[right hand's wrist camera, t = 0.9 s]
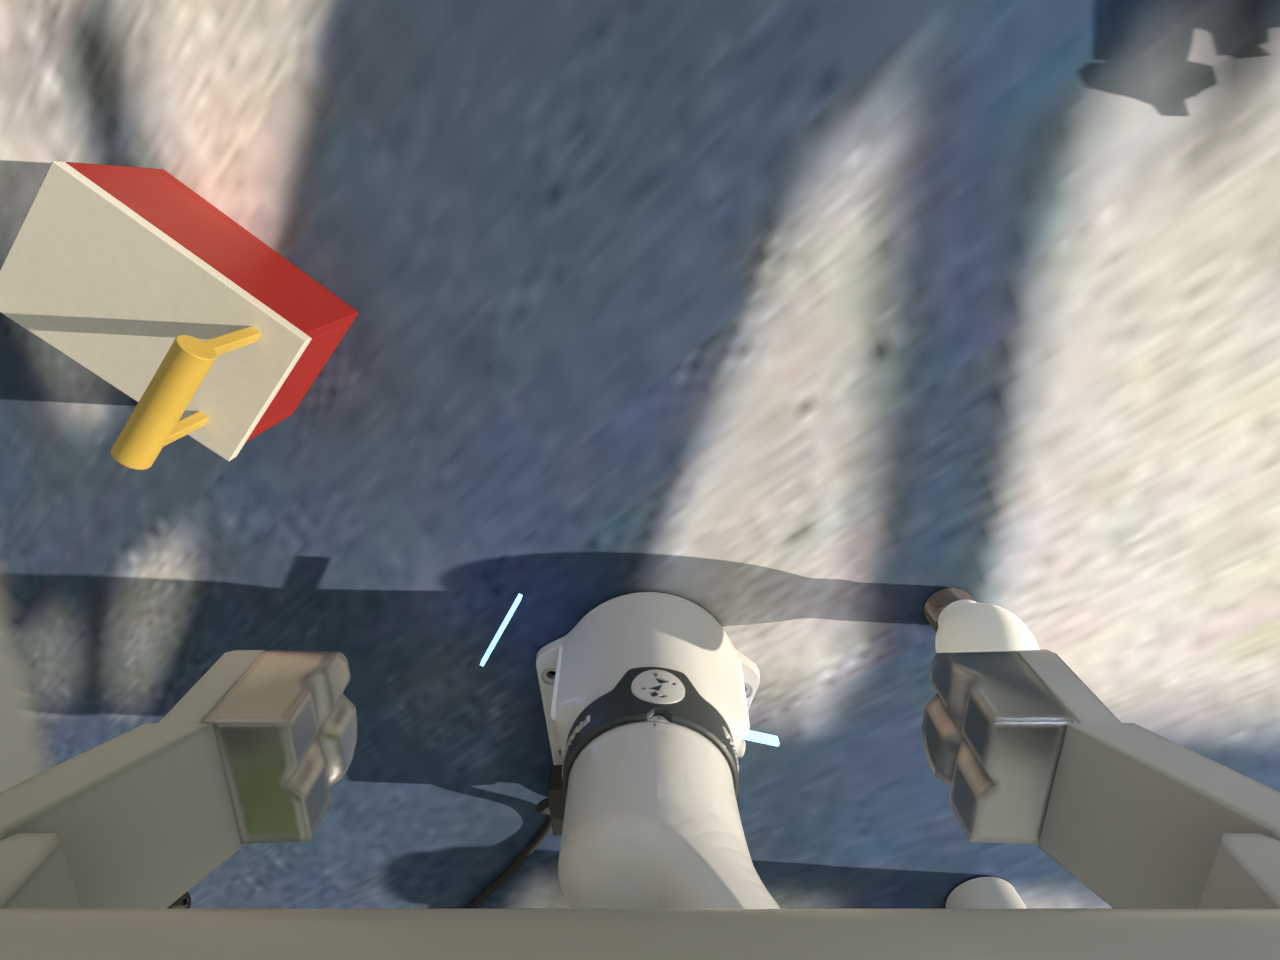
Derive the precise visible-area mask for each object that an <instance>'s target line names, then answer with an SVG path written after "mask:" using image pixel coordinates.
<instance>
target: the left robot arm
mask: <svg viewBox="0 0 1280 960" xmlns="http://www.w3.org/2000/svg"><path fill="white" fill-rule="evenodd" d="M190 906H191V898H190V896H189V893H188V892H186V893H185V894H184V895H183V896H181V897H180V898H179V899H178V900H176V901H175V902H174V903H173V904H171V905H170V906H169V907H168V908H167V909H189V908H190Z"/></svg>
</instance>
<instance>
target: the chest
mask: <svg viewBox="0 0 1280 960" xmlns="http://www.w3.org/2000/svg"><path fill="white" fill-rule="evenodd" d="M66 163H67V164H68V165H70V166H71V167H72V168H74V169H75V170H77V171H78V172H79V173H81V174H82V175H84V176H85V177H86V178H88V179H89V180H91V181H92V182H93V183H95V184H96V185H98V186H99V187H100V188H102V189H103V190H105V191H106V192H107V193H109V194H110V195H112V196H113V197H114V198H116V199H117V200H119V201H120V202H121V203H123V204H124V205H126V206H127V207H128V208H130V209H131V210H133V211H134V212H135V213H137V214H138V215H140V216H141V217H142V218H144V219H145V220H147V221H148V222H149V223H151V224H152V225H154V226H155V227H156V228H158V229H159V230H161V231H162V232H163V233H165V234H166V235H168V236H169V237H171V238H172V239H173V240H175V241H176V242H178V243H179V244H180V245H182V246H183V247H185V248H186V249H187V250H189V251H190V252H192V253H193V254H194V255H196V256H197V257H199V258H200V259H201V260H203V261H204V262H206V263H207V264H208V265H210V266H211V267H213V268H214V269H215V270H217V271H218V272H220V273H221V274H222V275H224V276H225V277H227V278H228V279H229V280H231V281H232V282H234V283H235V284H236V285H238V286H239V287H241V288H242V289H243V290H245V291H246V292H248V293H249V294H250V295H252V296H253V297H255V298H256V299H257V300H259V301H260V302H262V303H263V304H264V305H266V306H267V307H269V308H270V309H271V310H273V311H274V312H276V313H277V314H278V315H280V316H281V317H283V318H284V319H285V320H287V321H288V322H290V323H291V324H292V325H294V326H295V327H297V328H298V329H299V330H301V331H302V332H304V333H305V334H306V335H308V336H309V337H311V338H312V339H311V341H310V343H309V344H308V346H307V347H306V349H305V350H304V352H303V353H302V355H301V357H300V358H299V360H298V361H297V363H296V364H295V366H294V367H293V369H292V371H291V372H290V374H289V375H288V377H287V378H286V380H285V381H284V383H283V385H282V386H281V388H280V389H279V391H278V392H277V394H276V395H275V397H274V399H273V400H272V402H271V403H270V405H269V406H268V408H267V409H266V411H265V413H264V414H263V416H262V417H261V419H260V420H259V422H258V423H257V425H256V427H255V428H254V430H253V431H252V433H251V434H250V436H249V437H248V439H247V441H249V440H250V439H252V438H254V437H255V436H257V435H259V434H260V433H262V432H264V431H265V430H267V429H268V428H270V427H272V426H273V425H275V424H277V423H278V422H280V421H282V420H283V419H285V418H287V417H288V416H290V415H292V414H293V412H294V411H295V409H296V408H297V406H298V405H299V403H300V402H301V400H302V399H303V397H304V396H305V394H306V392H307V391H308V389H309V388H310V386H311V385H312V383H313V382H314V380H315V379H316V377H317V376H318V374H319V373H320V371H321V370H322V368H323V367H324V365H325V364H326V362H327V361H328V359H329V357H330V356H331V354H332V353H333V351H334V350H335V348H336V347H337V345H338V344H339V342H340V341H341V339H342V338H343V336H344V335H345V333H346V332H347V330H348V329H349V327H350V325H351V324H352V322H353V321H354V319H355V318H356V316H357V315H358V312H357V311H356V310H354V309H353V308H352V307H350V306H349V305H348V304H346V303H345V302H343V301H342V300H341V299H339V298H338V297H337V296H335V295H334V294H333V293H331V292H330V291H328V290H327V289H326V288H324V287H323V286H322V285H320V284H319V283H318V282H316V281H315V280H313V279H312V278H311V277H309V276H308V275H307V274H305V273H304V272H303V271H301V270H300V269H298V268H297V267H296V266H294V265H293V264H292V263H290V262H289V261H288V260H286V259H285V258H283V257H282V256H281V255H279V254H278V253H277V252H275V251H274V250H273V249H271V248H270V247H268V246H267V245H266V244H264V243H263V242H262V241H260V240H259V239H258V238H256V237H255V236H253V235H252V234H251V233H249V232H248V231H247V230H245V229H244V228H243V227H241V226H240V225H238V224H237V223H236V222H234V221H233V220H232V219H230V218H229V217H228V216H226V215H225V214H223V213H222V212H221V211H219V210H218V209H217V208H215V207H214V206H213V205H211V204H210V203H208V202H207V201H206V200H204V199H203V198H202V197H200V196H199V195H198V194H196V193H195V192H193V191H192V190H191V189H189V188H188V187H187V186H185V185H184V184H183V183H181V182H180V181H178V180H177V179H176V178H174V177H173V176H172V175H170V174H169V173H168V172H166V171H165V170H163V169H152V168H139V167H125V166H112V165H98V164H85V163H71V162H66ZM247 441H246V442H247Z"/></svg>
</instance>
